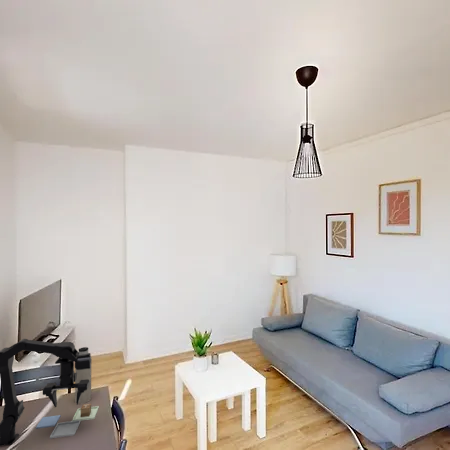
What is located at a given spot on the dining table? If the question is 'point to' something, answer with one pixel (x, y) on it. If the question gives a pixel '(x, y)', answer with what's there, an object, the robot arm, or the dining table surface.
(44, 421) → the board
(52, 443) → the dining table surface
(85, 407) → the letter cube
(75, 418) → the green tray
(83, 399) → the thermos bottle
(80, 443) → the dining table surface
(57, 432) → the grey tray
